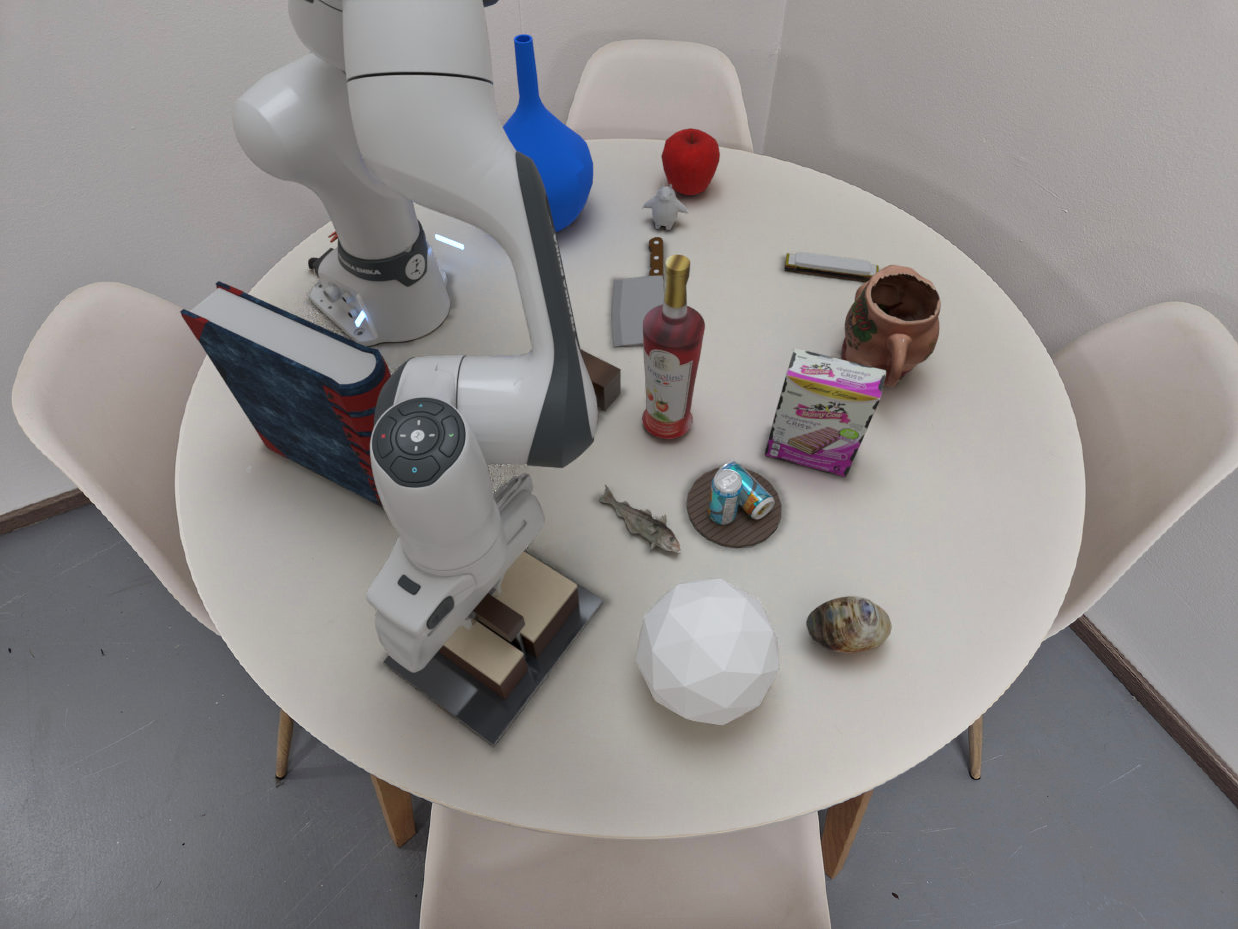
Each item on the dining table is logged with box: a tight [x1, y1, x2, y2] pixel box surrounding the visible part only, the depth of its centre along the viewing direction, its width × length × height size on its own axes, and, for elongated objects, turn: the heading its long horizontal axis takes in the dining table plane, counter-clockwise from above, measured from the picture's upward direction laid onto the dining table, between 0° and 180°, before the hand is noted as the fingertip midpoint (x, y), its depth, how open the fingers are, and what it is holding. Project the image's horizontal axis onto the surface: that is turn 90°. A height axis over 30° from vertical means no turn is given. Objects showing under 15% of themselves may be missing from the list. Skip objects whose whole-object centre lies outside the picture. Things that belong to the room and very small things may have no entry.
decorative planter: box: [841, 264, 942, 388], centre depth 105 cm, size 20×12×14 cm, turn 176°
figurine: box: [641, 182, 689, 232], centre depth 127 cm, size 8×6×8 cm
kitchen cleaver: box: [611, 236, 665, 348], centre depth 120 cm, size 24×1×10 cm
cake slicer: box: [473, 593, 527, 659], centre depth 82 cm, size 10×2×9 cm, turn 56°
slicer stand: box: [581, 349, 622, 412], centre depth 106 cm, size 11×10×5 cm
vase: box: [502, 33, 594, 234], centre depth 119 cm, size 18×18×30 cm
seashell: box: [805, 595, 893, 654], centre depth 84 cm, size 10×6×8 cm, turn 91°
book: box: [179, 280, 392, 508], centre depth 91 cm, size 25×7×25 cm, turn 61°
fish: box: [598, 484, 682, 553], centre depth 95 cm, size 13×4×5 cm
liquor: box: [641, 254, 706, 440], centre depth 94 cm, size 7×7×28 cm
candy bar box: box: [764, 347, 886, 478], centre depth 95 cm, size 11×5×16 cm, turn 71°
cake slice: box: [438, 622, 528, 699], centre depth 83 cm, size 12×4×5 cm, turn 56°
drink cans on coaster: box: [686, 459, 782, 549], centre depth 94 cm, size 12×12×8 cm
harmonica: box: [783, 251, 880, 282], centre depth 122 cm, size 15×3×2 cm, turn 78°
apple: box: [661, 127, 721, 196], centre depth 131 cm, size 10×10×11 cm
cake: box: [382, 549, 604, 747], centre depth 85 cm, size 16×20×6 cm
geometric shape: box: [635, 577, 781, 726], centre depth 79 cm, size 14×15×15 cm
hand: (480, 607), depth 80 cm, fingers closed on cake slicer, 2 cm apart
